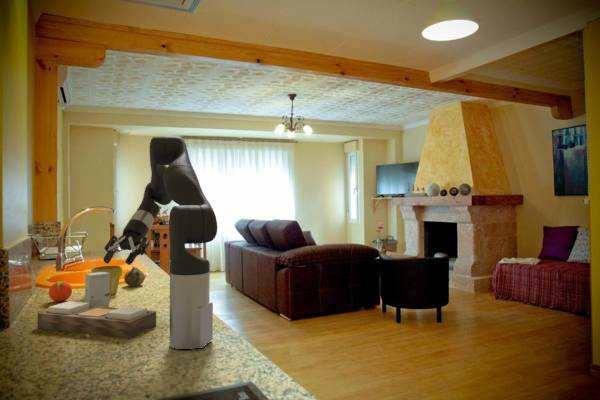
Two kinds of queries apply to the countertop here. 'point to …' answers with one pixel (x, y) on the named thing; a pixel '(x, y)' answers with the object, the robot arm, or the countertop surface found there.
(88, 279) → the skincare box
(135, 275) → the onion
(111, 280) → the plant pot
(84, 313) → the key amber
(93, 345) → the countertop surface
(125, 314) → the key inner
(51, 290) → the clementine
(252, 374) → the countertop surface
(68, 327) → the keypad
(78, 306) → the key outer
